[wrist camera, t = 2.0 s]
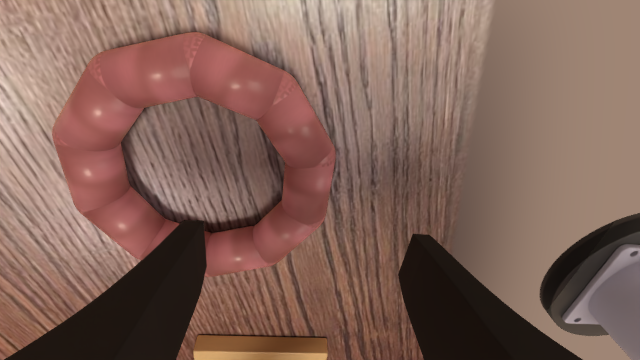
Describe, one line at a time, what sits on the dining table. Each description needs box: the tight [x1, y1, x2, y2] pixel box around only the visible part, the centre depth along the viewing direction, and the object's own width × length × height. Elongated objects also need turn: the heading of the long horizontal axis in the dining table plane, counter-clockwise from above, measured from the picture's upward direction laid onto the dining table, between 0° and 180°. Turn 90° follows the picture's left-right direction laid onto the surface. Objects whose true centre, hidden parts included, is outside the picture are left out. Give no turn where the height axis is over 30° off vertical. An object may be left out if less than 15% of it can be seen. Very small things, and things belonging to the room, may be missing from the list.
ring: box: [52, 32, 336, 277], centre depth 14 cm, size 11×12×2 cm
